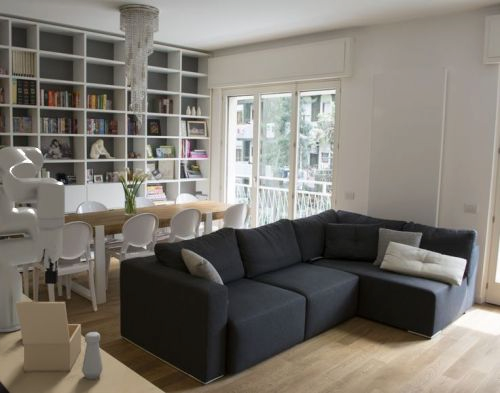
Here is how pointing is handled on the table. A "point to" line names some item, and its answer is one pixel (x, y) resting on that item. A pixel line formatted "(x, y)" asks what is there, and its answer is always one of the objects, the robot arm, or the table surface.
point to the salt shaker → (92, 356)
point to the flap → (43, 322)
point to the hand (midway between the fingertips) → (51, 282)
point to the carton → (53, 354)
